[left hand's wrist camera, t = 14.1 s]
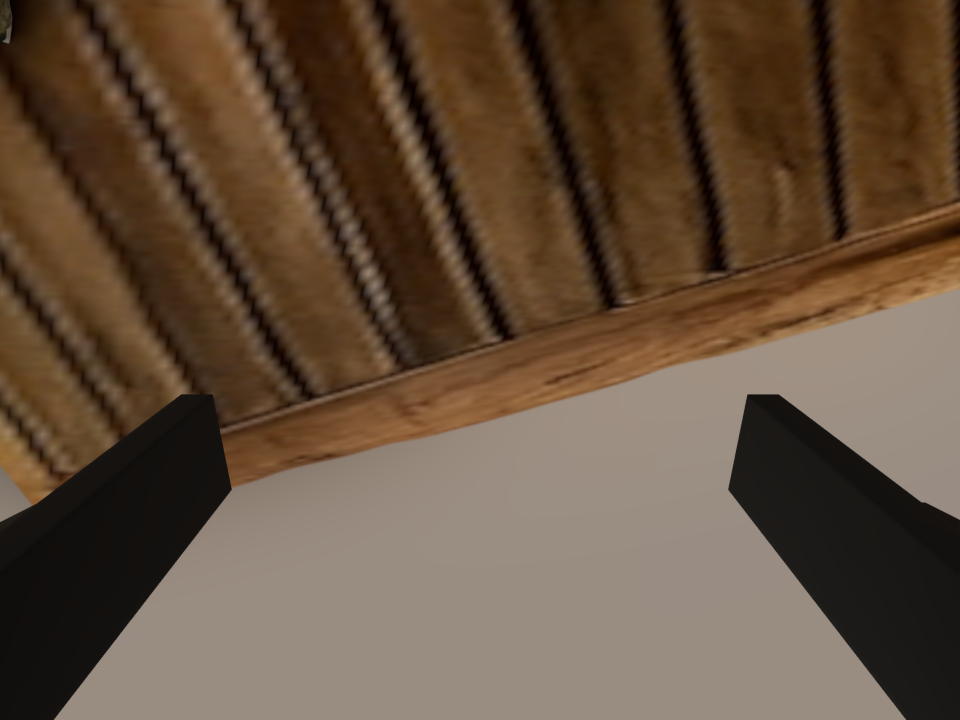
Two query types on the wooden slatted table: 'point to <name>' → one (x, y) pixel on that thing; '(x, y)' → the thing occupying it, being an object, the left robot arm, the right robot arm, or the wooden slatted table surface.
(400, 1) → the wooden slatted table surface
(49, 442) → the wooden slatted table surface
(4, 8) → the fossil
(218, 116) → the wooden slatted table surface
